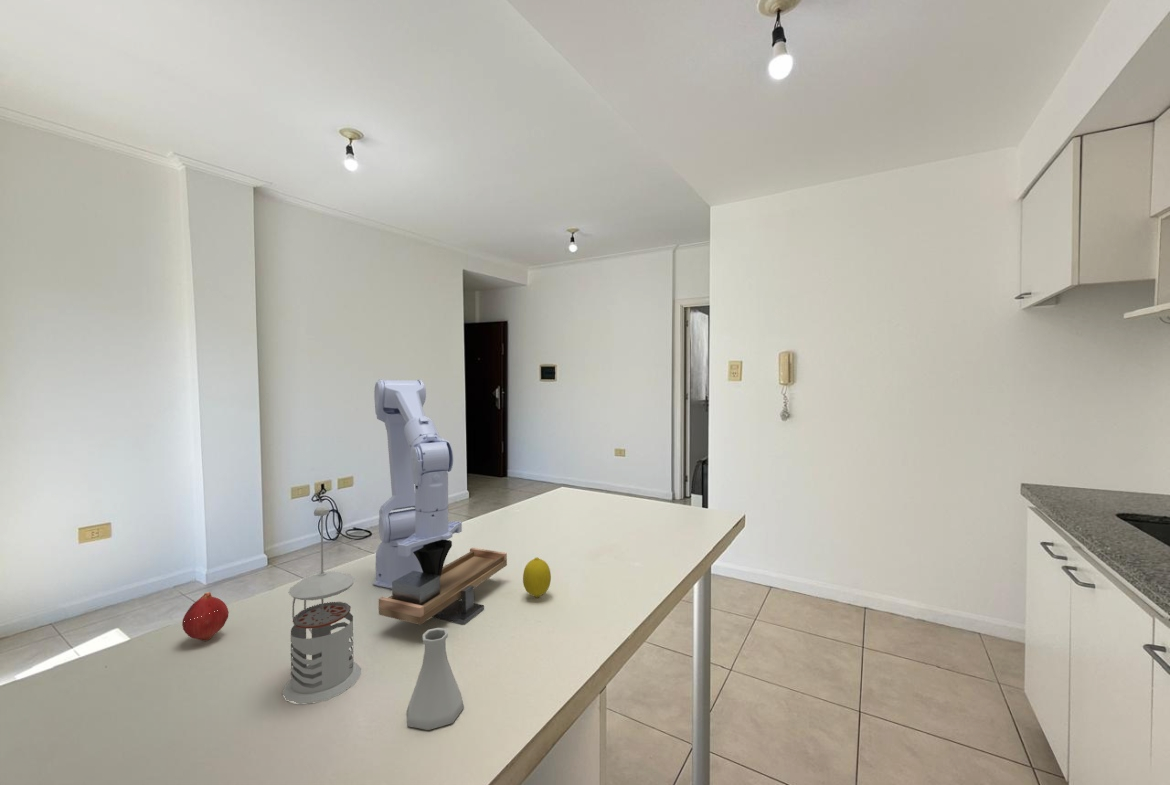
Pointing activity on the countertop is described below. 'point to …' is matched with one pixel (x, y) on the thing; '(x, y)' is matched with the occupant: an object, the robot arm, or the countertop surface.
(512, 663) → the countertop surface
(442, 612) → the pivot stand
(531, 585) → the lemon
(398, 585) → the steel block
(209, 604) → the red pomegranate
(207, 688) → the countertop surface
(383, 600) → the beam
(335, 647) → the french press
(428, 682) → the flask
